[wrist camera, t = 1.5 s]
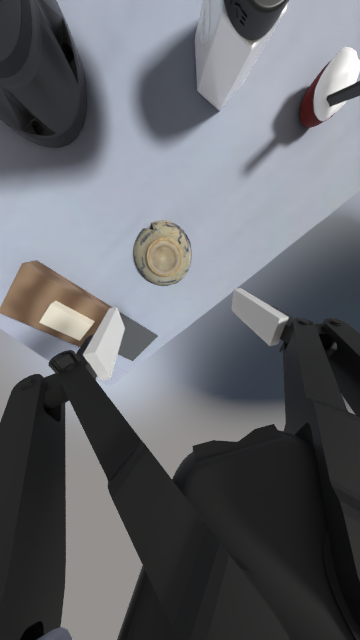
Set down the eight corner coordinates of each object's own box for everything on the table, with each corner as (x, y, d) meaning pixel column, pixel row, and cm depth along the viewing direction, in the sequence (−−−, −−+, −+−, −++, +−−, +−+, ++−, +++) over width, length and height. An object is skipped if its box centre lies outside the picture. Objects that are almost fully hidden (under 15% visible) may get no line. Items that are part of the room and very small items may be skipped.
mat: (95, 342, 43) (94, 343, 43) (120, 312, 40) (120, 313, 39) (132, 360, 50) (132, 360, 50) (157, 335, 46) (157, 336, 46)
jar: (191, 9, 19) (236, -254, 9) (246, 6, 20) (347, -244, 9) (196, 114, 24) (229, 21, 14) (240, 109, 24) (303, 16, 14)
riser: (13, 304, 34) (-2, 312, 30) (36, 260, 30) (22, 263, 27) (93, 341, 43) (88, 350, 40) (118, 311, 40) (115, 318, 36)
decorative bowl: (166, 295, 40) (203, 256, 36) (167, 300, 37) (208, 257, 33) (120, 257, 33) (161, 202, 29) (117, 259, 30) (162, 198, 26)
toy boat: (327, 64, 24) (465, -80, 13) (331, 112, 27) (448, 24, 16) (279, 113, 25) (369, 18, 15) (288, 153, 28) (369, 97, 18)
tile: (44, 318, 33) (39, 322, 31) (55, 300, 31) (50, 304, 30) (83, 336, 37) (79, 340, 35) (94, 321, 36) (91, 325, 34)
